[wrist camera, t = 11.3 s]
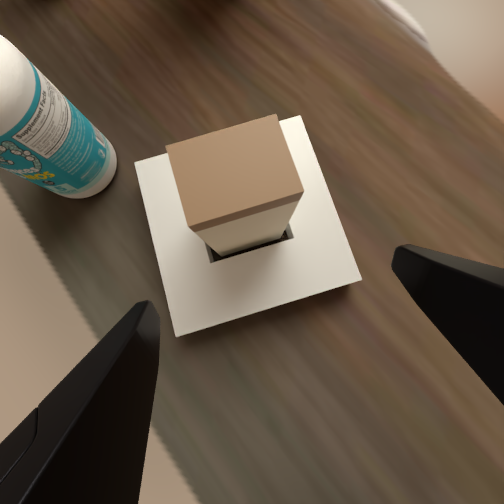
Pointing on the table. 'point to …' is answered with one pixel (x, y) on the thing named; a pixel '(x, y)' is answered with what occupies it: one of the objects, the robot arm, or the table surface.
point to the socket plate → (250, 263)
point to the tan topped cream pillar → (237, 184)
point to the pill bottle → (48, 133)
